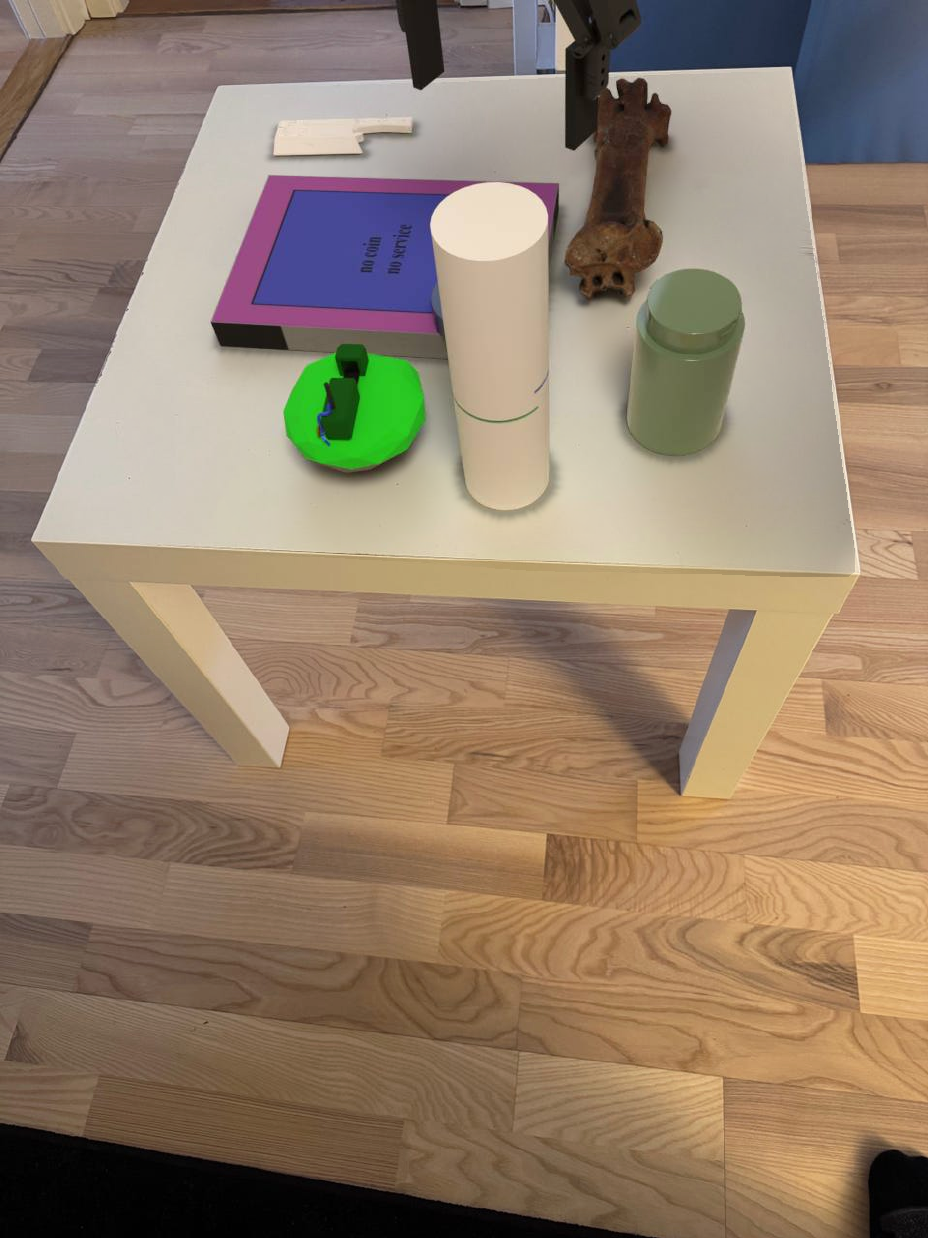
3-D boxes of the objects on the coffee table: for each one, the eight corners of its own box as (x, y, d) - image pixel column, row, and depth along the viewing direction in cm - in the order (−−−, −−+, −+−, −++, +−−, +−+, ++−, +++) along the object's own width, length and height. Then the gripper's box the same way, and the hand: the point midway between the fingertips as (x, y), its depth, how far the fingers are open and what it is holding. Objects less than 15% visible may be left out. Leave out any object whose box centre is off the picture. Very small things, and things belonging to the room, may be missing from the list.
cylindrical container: (565, 462, 78) (569, 202, 56) (521, 523, 75) (508, 275, 53) (493, 430, 80) (470, 169, 58) (448, 489, 77) (407, 238, 55)
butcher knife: (407, 153, 99) (406, 143, 98) (273, 156, 101) (270, 147, 100) (413, 123, 102) (411, 113, 101) (282, 126, 104) (279, 117, 103)
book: (532, 339, 81) (210, 321, 85) (533, 363, 83) (220, 345, 88) (559, 182, 90) (268, 174, 95) (558, 209, 93) (276, 200, 97)
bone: (677, 42, 92) (661, 230, 77) (676, 124, 99) (661, 312, 84) (588, 52, 94) (555, 236, 79) (593, 131, 101) (563, 315, 86)
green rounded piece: (422, 501, 77) (403, 412, 67) (287, 496, 78) (250, 408, 69) (440, 392, 83) (424, 295, 73) (313, 389, 84) (282, 294, 74)
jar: (739, 409, 79) (771, 289, 67) (688, 470, 76) (712, 356, 65) (660, 370, 82) (677, 248, 70) (608, 427, 79) (617, 311, 68)
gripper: (735, -292, 43) (683, 135, 62) (348, -356, 52) (404, 32, 71) (645, -228, 41) (619, 197, 59) (256, -307, 50) (338, 82, 68)
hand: (502, 108), depth 65 cm, fingers open, 13 cm apart
